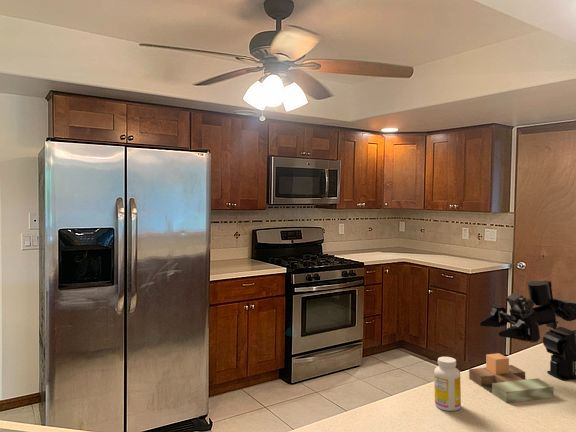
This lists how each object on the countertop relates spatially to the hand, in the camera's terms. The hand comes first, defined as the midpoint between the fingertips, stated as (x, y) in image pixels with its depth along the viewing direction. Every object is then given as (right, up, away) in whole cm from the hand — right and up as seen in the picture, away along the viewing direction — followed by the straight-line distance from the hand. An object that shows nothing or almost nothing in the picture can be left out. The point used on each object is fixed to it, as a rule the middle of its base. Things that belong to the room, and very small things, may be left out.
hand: (488, 328), depth 134 cm
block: (+3, -13, +2) cm, 14 cm away
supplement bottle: (-18, -17, -14) cm, 29 cm away
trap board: (+5, -16, -3) cm, 17 cm away
